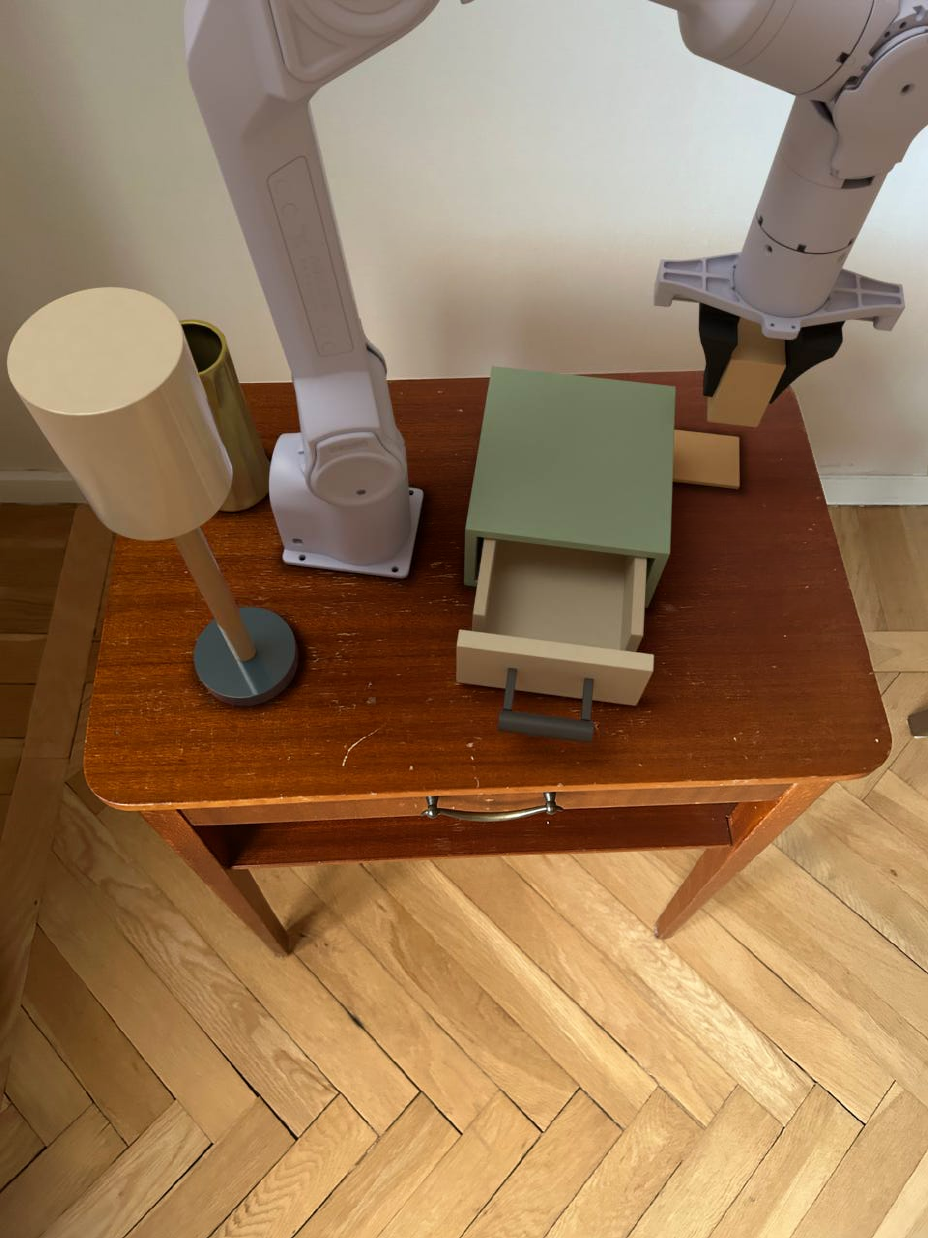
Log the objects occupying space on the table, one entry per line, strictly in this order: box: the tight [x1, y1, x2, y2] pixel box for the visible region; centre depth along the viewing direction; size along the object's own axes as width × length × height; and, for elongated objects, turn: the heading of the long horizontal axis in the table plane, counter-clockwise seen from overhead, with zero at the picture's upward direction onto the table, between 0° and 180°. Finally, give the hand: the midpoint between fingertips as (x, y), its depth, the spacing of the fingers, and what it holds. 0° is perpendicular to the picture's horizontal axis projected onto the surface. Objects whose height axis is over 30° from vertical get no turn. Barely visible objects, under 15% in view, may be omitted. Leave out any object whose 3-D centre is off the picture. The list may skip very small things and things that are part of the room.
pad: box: [673, 429, 741, 490], centre depth 70 cm, size 6×5×1 cm
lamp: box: [6, 286, 300, 707], centre depth 49 cm, size 7×7×30 cm
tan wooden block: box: [706, 317, 786, 428], centre depth 59 cm, size 4×4×6 cm
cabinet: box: [463, 365, 677, 609], centre depth 65 cm, size 15×14×8 cm
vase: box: [179, 319, 271, 512], centre depth 63 cm, size 6×6×14 cm
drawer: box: [455, 537, 655, 745], centre depth 60 cm, size 18×12×6 cm
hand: (737, 389), depth 61 cm, fingers closed on tan wooden block, 3 cm apart
